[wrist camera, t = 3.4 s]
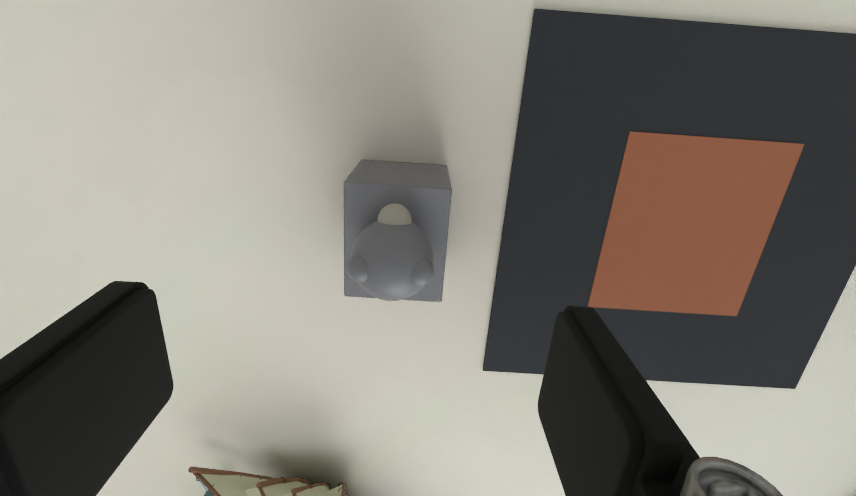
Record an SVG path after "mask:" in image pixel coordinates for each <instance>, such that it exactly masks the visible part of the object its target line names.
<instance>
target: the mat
mask: <svg viewBox="0 0 856 496" xmlns="http://www.w3.org/2000/svg"><path fill="white" fill-rule="evenodd" d="M855 265H856V34H849V33H836V32H824V31H811V30H798V29H785V28H773V27H760V26H747V25H734V24H722V23H709V22H696V21H684V20H671V19H658V18H645V17H633V16H620V15H607V14H595V13H582V12H569V11H556V10H544V9H535V10H534V17H533V24H532V31H531V38H530V45H529V52H528V59H527V66H526V73H525V80H524V87H523V93H522V100H521V107H520V114H519V121H518V128H517V135H516V142H515V149H514V156H513V163H512V170H511V177H510V184H509V191H508V198H507V205H506V212H505V219H504V226H503V233H502V240H501V247H500V254H499V261H498V268H497V275H496V282H495V289H494V296H493V303H492V310H491V317H490V324H489V331H488V338H487V345H486V352H485V359H484V365H483V371H498V372H515V373H532V374H544V372H545V367H546V362H547V358H548V353H549V348H550V344H551V339H552V334H553V330H554V325H555V320H556V316H557V314H558V312H559V311H562V312H564V310H565V309H566V307H567V306H581V307H593V308H594V309H595V310H596V312H597V313H598V315H599V316H600V317H601V319H602V320H603V322H604V323H605V324H606V326H607V327H608V329H609V330H610V331H611V333H612V334H613V336H614V337H615V338H616V340H617V341H618V343H619V344H620V345H621V347H622V348H623V350H624V351H625V353H626V354H627V355H628V357H629V358H630V360H631V361H632V362H633V364H634V365H635V367H636V368H637V369H638V371H639V372H640V374H641V375H642V376H643V378H644V379H645V380H653V381H670V382H687V383H705V384H722V385H739V386H756V387H773V388H791V389H795V388H796V386H797V384H798V382H799V380H800V378H801V376H802V373H803V371H804V369H805V367H806V365H807V363H808V361H809V359H810V357H811V355H812V353H813V351H814V349H815V347H816V345H817V343H818V341H819V339H820V337H821V335H822V333H823V331H824V328H825V326H826V324H827V322H828V320H829V318H830V316H831V314H832V312H833V310H834V308H835V306H836V304H837V302H838V300H839V298H840V296H841V294H842V292H843V290H844V288H845V286H846V284H847V281H848V279H849V277H850V275H851V273H852V271H853V269H854V267H855Z"/></svg>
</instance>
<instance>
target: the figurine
mask: <svg viewBox="0 0 856 496" xmlns="http://www.w3.org/2000/svg"><path fill="white" fill-rule="evenodd" d="M189 472H191V473H193V474H194V475H195V476H196V480H197V481H200V483H201V484H202V485H203V486H204V485H205V486H204V487H205V489H206V490H207V489H208V490H207V491H206V493H205V495H204V496H347V494H346V493H345V492H346V484H345V483H343V482H340V483H341V484H342V483H343V485H340V483H339V484H338V487H336V488H333V489H331V490H330V487H329V486H330V484H329V485H327V484H328V483H327V484H324V483H321V482H319V483H316V484H311V485H310V484H309V483H308V481H307V480H304V479H303V478H298V477H288V478H284V477H281V478H271V477H265V476H259V475H253V474H247V473H241V472H233V471H225V470H216V469H207V468H198V467H190V468H189ZM339 485H340V486H339Z"/></svg>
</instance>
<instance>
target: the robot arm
mask: <svg viewBox="0 0 856 496" xmlns="http://www.w3.org/2000/svg"><path fill="white" fill-rule="evenodd" d="M172 391H173V380H172V375H171V370H170V365H169V360H168V355H167V350H166V345H165V340H164V335H163V330H162V325H161V320H160V315H159V310H158V305H157V300H156V295H155V293H154V291H153V290H151V289H148V287H147V285H146V284H144V283H142V282H124V281H114V282H112V283H110V284H108V285H107V286H106V287H104V288H103V289H101V290H100V291H98V292H97V293H95V294H94V295H93V296H91V297H90V298H88V299H87V300H85V301H84V302H82V303H81V304H80V305H78V306H77V307H75V308H74V309H72V310H71V311H69V312H68V313H67V314H65V315H64V316H62V317H61V318H59V319H58V320H56V321H55V322H54V323H52V324H51V325H49V326H48V327H46V328H45V329H43V330H42V331H41V332H39V333H38V334H36V335H35V336H33V337H32V338H30V339H29V340H28V341H26V342H25V343H23V344H22V345H20V346H19V347H17V348H16V349H15V350H13V351H12V352H10V353H9V354H7V355H6V356H4V357H3V358H2V359H0V496H96V495H97V494H98V492H99V491H100V490H101V488H102V487H103V486H104V484H105V483H106V482H107V480H108V479H109V478H110V476H111V475H112V474H113V473H114V471H115V470H116V469H117V467H118V466H119V465H120V463H121V462H122V461H123V459H124V458H125V457H126V455H127V454H128V453H129V452H130V450H131V449H132V448H133V446H134V445H135V444H136V442H137V441H138V440H139V438H140V437H141V436H142V434H143V433H144V432H145V431H146V429H147V428H148V427H149V425H150V424H151V423H152V421H153V420H154V419H155V417H156V416H157V415H158V414H159V412H160V411H161V410H162V408H163V407H164V406H165V404H166V403H167V402H168V400H169V399H170V397H171V394H172ZM538 412H539V417H540V420H541V423H542V426H543V429H544V432H545V435H546V438H547V441H548V444H549V447H550V450H551V453H552V456H553V459H554V462H555V465H556V468H557V471H558V474H559V477H560V480H561V483H562V486H563V489H564V492H565V495H566V496H783V495H782V494H781V493H780V492H779V491H778V490H777V489H776V488H775V487H774V486H773V485H772V484H770V483H769V482H768V481H767V480H765V479H764V478H763V477H762V476H760V475H759V474H757V473H755V472H753V471H752V470H750V469H748V468H747V467H745V466H743V465H740V464H738V463H735V462H733V461H730V460H727V459H722V458H717V457H702V458H700V457H699V456H698V454H697V453H696V451H695V450H694V449H693V447H692V446H691V444H690V443H689V441H688V440H687V438H686V437H685V436H684V434H683V433H682V431H681V430H680V429H679V427H678V426H677V424H676V423H675V421H674V420H673V419H672V417H671V416H670V414H669V413H668V412H667V410H666V409H665V407H664V406H663V405H662V403H661V402H660V400H659V399H658V398H657V396H656V395H655V393H654V392H653V391H652V389H651V388H650V386H649V385H648V383H647V382H646V381H645V379H644V378H643V376H642V375H641V374H640V372H639V371H638V369H637V368H636V367H635V365H634V364H633V362H632V361H631V360H630V358H629V357H628V355H627V354H626V353H625V351H624V350H623V348H622V347H621V345H620V344H619V343H618V341H617V340H616V338H615V337H614V336H613V334H612V333H611V331H610V330H609V329H608V327H607V326H606V324H605V323H604V322H603V320H602V319H601V317H600V316H599V315H598V313H597V312H596V310H595V309H594V308H593V307H581V306H567V307H566V309H565V310H564V312H562V311H559V312H558V314H557V316H556V320H555V325H554V330H553V334H552V339H551V344H550V348H549V353H548V358H547V362H546V367H545V372H544V376H543V381H542V386H541V390H540V395H539V400H538Z"/></svg>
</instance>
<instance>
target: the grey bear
mask: <svg viewBox="0 0 856 496" xmlns="http://www.w3.org/2000/svg"><path fill="white" fill-rule="evenodd" d="M451 193H452V189H451V184H450V179H449V173H448V168H447V166H446V165H433V164H418V163H404V162H389V161H375V160H361V161H360V162H359V163H358V165H357V166H356V167H355V169H354V170H353V171H352V173H351V174H350V175H349V176H348V178H347V179H346V180H345V182H344V295H345V296H351V297H367V298H379V299H382V300H387V301H397V300H416V301H432V302H441V301H442V291H443V280H444V269H445V258H446V247H447V237H448V226H449V215H450V204H451Z"/></svg>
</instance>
